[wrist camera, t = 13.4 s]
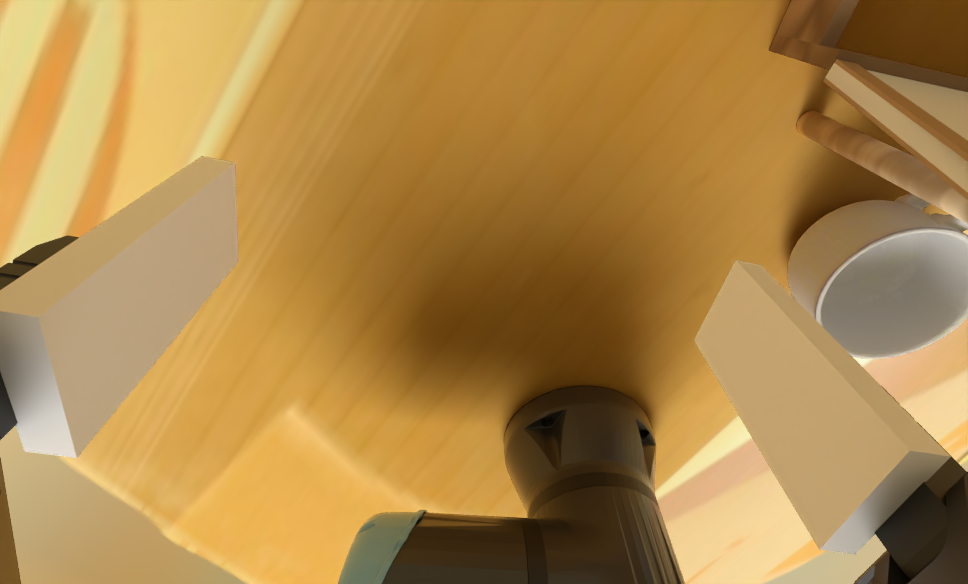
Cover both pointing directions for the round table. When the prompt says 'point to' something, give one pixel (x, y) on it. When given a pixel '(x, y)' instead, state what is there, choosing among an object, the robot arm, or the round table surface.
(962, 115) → the lid
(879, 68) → the cold frame
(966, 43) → the round table surface
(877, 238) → the teacup
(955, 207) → the prop sticks
